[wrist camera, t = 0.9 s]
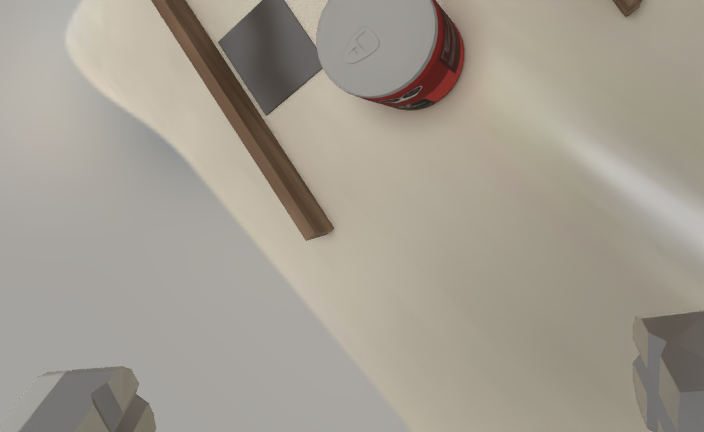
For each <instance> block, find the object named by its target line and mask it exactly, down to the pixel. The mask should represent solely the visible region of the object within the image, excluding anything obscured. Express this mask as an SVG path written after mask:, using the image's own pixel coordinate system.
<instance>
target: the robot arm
mask: <svg viewBox="0 0 704 432" xmlns="http://www.w3.org/2000/svg"><path fill="white" fill-rule="evenodd" d="M633 340H634V342H635V344H636V347H637V349H638V351H639V353H640V355H639V356H638V357H637V359H636V360H635V361H634V362H633V380H634V386H635V393H636V399H637V402H638V405H639V409H640V412H641V415H642V417H643V419H644V422H645V424H646V427H647V428H648V429H650V430H651V431H653V432H704V310H698V311H688V312H678V313H669V314H659V315H649V316H639V317H635V320H634V324H633ZM138 386H139V382H138V380H137V379H136V377H135V375H134V373H133V371H132V369H129V368H126V367H123V366H121V367H106V368H93V369H78V370H72V371H58V372H47V373H45V374H43V375H41V376H38V377H37V378H36V380H35V381H34V382H33V383H32V384H31V386H30V387H29V388H28V389H27V391H26V392H25V393H24V395H22V397H21V398H20V399H19V400H18V402H17V403H16V404H15V405H14V406H13V408H12V409H11V410H10V411H9V413H8V414H7V415H6V416H5V418H4V419H3V420H2V421H1V422H0V432H155V431H156V424H155V419H154V413H153V412H152V409H151V407H150V405H149V403H148V402H146V401H145V400H144V399H142V398H141V397H139V396H138V395H137V394H136V392H137V389H138Z"/></svg>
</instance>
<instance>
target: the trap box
mask: <svg viewBox="0 0 704 432" xmlns="http://www.w3.org/2000/svg"><path fill="white" fill-rule="evenodd" d="M151 1H152V2H153V4H154V5H155V7H156V8H157V10H158V12H159V13H160V15H161V16H162V18H163V19H164V21H165V22H166V24H167V26H168V27H169V29H170V30H171V32H172V33H173V35H174V36H175V38H176V40H177V41H178V43H179V44H180V46H181V47H182V49H183V50H184V52H185V54H186V55H187V57H188V58H189V60H190V61H191V63H192V64H193V66H194V68H195V69H196V71H197V72H198V74H199V75H200V77H201V78H202V80H203V81H204V83H205V85H206V86H207V88H208V89H209V91H210V92H211V94H212V95H213V97H214V99H215V100H216V102H217V103H218V105H219V106H220V108H221V109H222V111H223V113H224V114H225V116H226V117H227V119H228V120H229V122H230V123H231V125H232V127H233V128H234V130H235V131H236V133H237V134H238V136H239V137H240V139H241V141H242V142H243V144H244V145H245V147H246V148H247V150H248V151H249V153H250V154H251V156H252V158H253V159H254V161H255V162H256V164H257V165H258V167H259V168H260V170H261V172H262V173H263V175H264V176H265V178H266V179H267V181H268V182H269V184H270V186H271V187H272V189H273V190H274V192H275V193H276V195H277V196H278V198H279V200H280V201H281V203H282V204H283V206H284V207H285V209H286V210H287V212H288V214H289V215H290V217H291V218H292V220H293V221H294V223H295V224H296V226H297V227H298V229H299V231H300V232H301V234H302V235H303V237H304V238H305V240H306V241H307V240H310V239H313V238H317V237H320V236H324V235H326V234H327V233H329V232H330V231H332V230H333V229H334V227H333V226H332V224H331V223H330V221H329V220H328V218H327V217H326V215H325V214H324V212H323V211H322V209H321V207H320V206H319V204H318V203H317V201H316V200H315V198H314V197H313V195H312V194H311V192H310V191H309V189H308V188H307V186H306V184H305V183H304V181H303V180H302V178H301V177H300V175H299V174H298V172H297V171H296V169H295V168H294V166H293V165H292V163H291V162H290V160H289V158H288V157H287V155H286V154H285V152H284V151H283V149H282V148H281V146H280V145H279V143H278V142H277V140H276V139H275V137H274V135H273V134H272V132H271V131H270V129H269V128H268V126H267V125H266V123H265V122H264V120H263V119H262V117H261V116H260V114H259V113H258V111H257V109H256V108H255V106H254V105H253V103H252V102H251V100H250V99H249V97H248V96H247V94H246V93H245V91H244V90H243V88H242V86H241V85H240V83H239V82H238V80H237V79H236V77H235V76H234V74H233V73H232V71H231V70H230V68H229V67H228V65H227V63H226V62H225V60H224V59H223V57H222V56H221V54H220V53H219V51H218V50H217V48H216V47H215V45H214V44H213V42H212V41H211V39H210V37H209V36H208V34H207V33H206V31H205V30H204V28H203V27H202V25H201V24H200V22H199V21H198V19H197V18H196V16H195V14H194V13H193V11H192V10H191V8H190V7H189V5H188V4H187V2H186V1H185V0H151ZM613 1H614V2H615V4H616V5H617V6H618V8H619V9H620V10H621V12H622V13H623V14H624V15H625V17H627V16H628V15H629V14H631V13H632V12H634V11H635V10H636V9H638V8H639V6H640V4H641V2H642V0H613ZM218 43H219V45H220V46H221V48H222V49H223V51H224V52H225V54H226V55H227V57H228V58H229V60H230V61H231V63H232V65H233V66H234V68H235V69H236V71H237V72H238V74H239V75H240V77H241V78H242V80H243V81H244V83H245V84H246V86H247V87H248V89H249V90H250V92H251V94H252V95H253V97H254V98H255V100H256V101H257V103H258V104H259V106H260V107H261V109H262V110H263V112H264V113H265V115H268V114H269V113H270V112H272V111H273V110H274V109H275V108H276V107H277V106H279V105H280V104H281V103H282V102H283V101H285V100H286V99H287V98H288V97H289V96H290V95H292V94H293V93H294V92H295V91H296V90H297V89H299V88H300V87H301V86H302V85H303V84H305V83H306V82H307V81H308V80H309V79H310V78H312V77H313V76H314V75H315V74H316V73H317V72H319V71H320V70H321V69H322V65H321V63H320V60H319V57H318V52H317V48H316V47H315V45H314V44H313V42H312V41H311V39H310V38H309V36H308V35H307V34H306V32H305V31H304V29H303V28H302V26H301V25H300V23H299V22H298V20H297V19H296V17H295V16H294V14H293V13H292V11H291V10H290V8H289V7H288V6H287V4H286V3H285V1H284V0H262V1H261V2H260V3H259V4H258V5H257V6H256V7H255V8H254V9H253V10H252V11H251V12H250V13H248V14H247V15H246V16H245V17H244V18H243V19H242V20H241V21H240V22H239V23H238V24H237V25H236V26H235V27H234V28H233V29H231V30H230V31H229V32H228V33H227V34H226V35H225V36H224V37H223V38H222V39H221V40H220V41H219V42H218Z"/></svg>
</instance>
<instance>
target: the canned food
mask: <svg viewBox="0 0 704 432" xmlns="http://www.w3.org/2000/svg"><path fill="white" fill-rule="evenodd" d="M316 44H317V52H318V57H319V60H320V63H321V65H322V68H323V70H324V71H325V73H326V74H327V76H328V77H329V78H330V79H331V80H332V81H333V82H334V83H335V84H336V85H337V86H338V87H339V88H341V89H343V90H344V91H346V92H347V93H349V94H352V95H355V96H357V97H360V98H363V99H366V100H369V101H373V102H376V103H380V104H383V105H387V106H390V107H393V108H397V109H402V110H418V109H422V108H425V107H428V106H430V105H432V104H434V103H436V102H437V101H439V100H440V99H441V98H443V97H444V96H445V95H446V94H447V93H448V92H449V91H450V90H451V89H452V87H453V86H454V84H455V83H456V81H457V79H458V77H459V75H460V72H461V70H462V65H463V60H464V47H463V41H462V38H461V35H460V33H459V30H458V29H457V27H456V26H455V25H454V23H453V22H452V21H451V19H450V18H449V17H448V16H447V14H446V13H445V12H444V11H443V9H442V8H441V7H440V6H439V4H438V3H437V2H436V1H435V0H328V2H327V4H326V6H325V8H324V9H323V11H322V14H321V17H320V20H319V23H318V29H317V34H316Z"/></svg>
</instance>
